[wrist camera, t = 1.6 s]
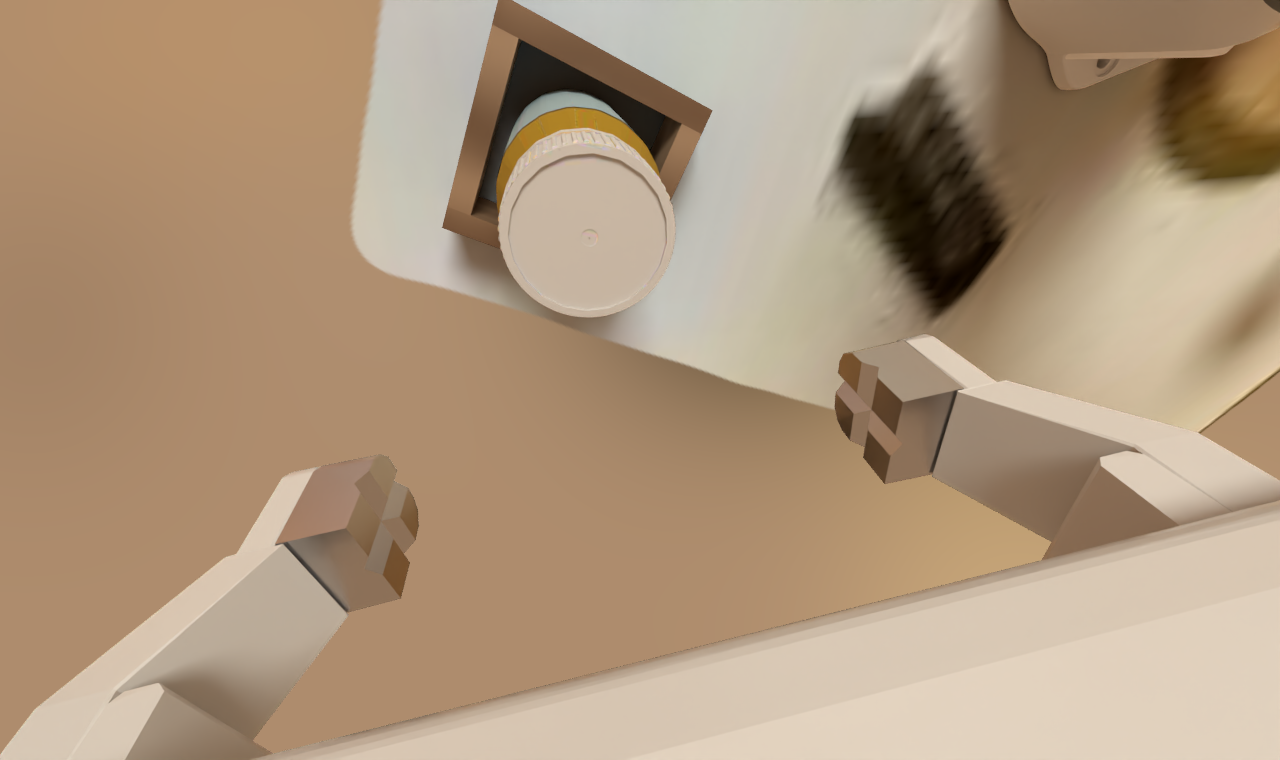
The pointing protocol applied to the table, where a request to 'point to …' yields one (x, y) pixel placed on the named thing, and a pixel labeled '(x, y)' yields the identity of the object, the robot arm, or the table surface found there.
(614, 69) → the pocket
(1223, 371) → the table surface
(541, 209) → the bottle
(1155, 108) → the table surface
